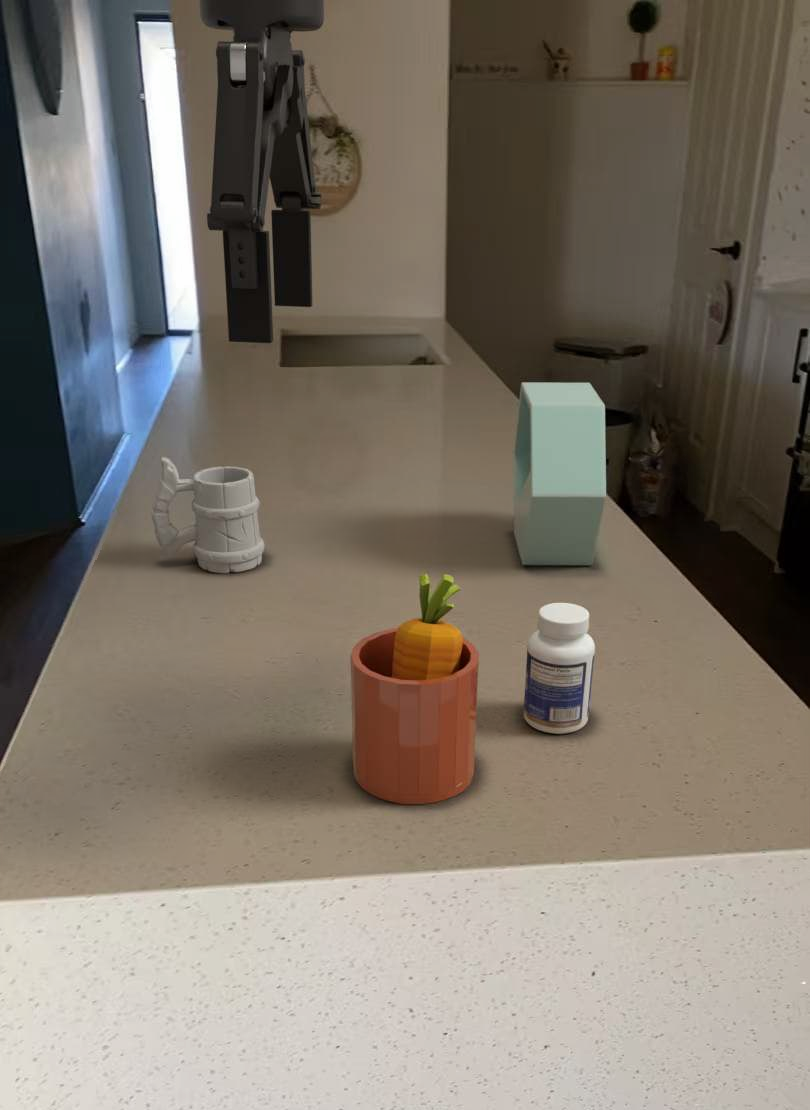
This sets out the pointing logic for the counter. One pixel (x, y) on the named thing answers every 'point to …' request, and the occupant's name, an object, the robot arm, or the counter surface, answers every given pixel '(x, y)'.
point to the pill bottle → (559, 670)
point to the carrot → (428, 637)
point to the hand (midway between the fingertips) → (274, 322)
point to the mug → (212, 517)
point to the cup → (411, 725)
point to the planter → (559, 473)
